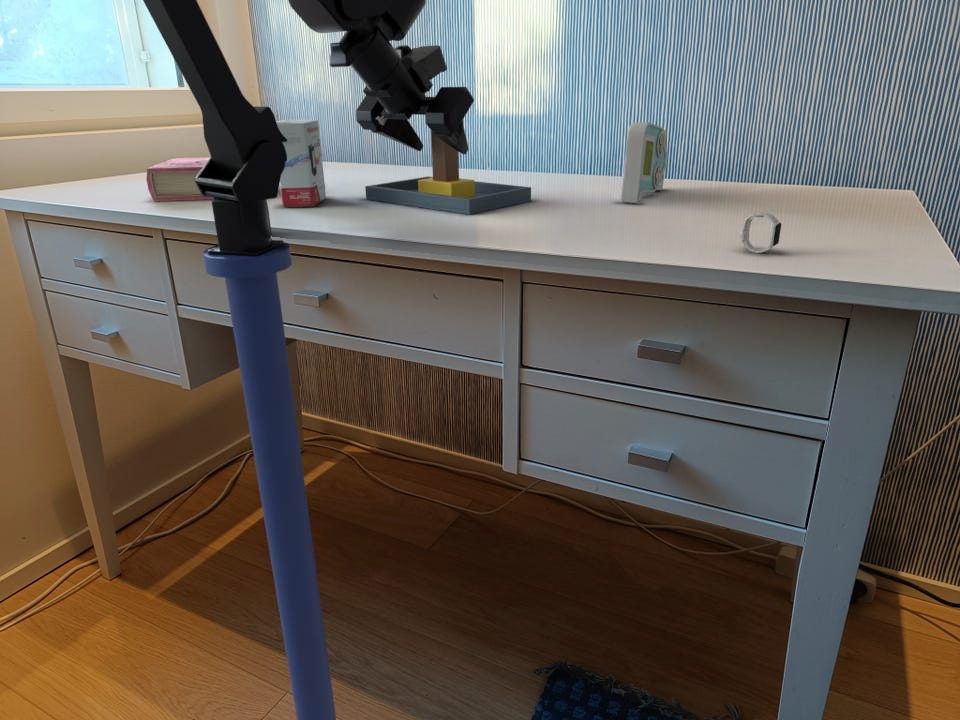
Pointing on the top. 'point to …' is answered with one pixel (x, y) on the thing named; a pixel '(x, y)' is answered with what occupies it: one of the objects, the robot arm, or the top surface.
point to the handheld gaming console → (644, 160)
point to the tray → (484, 199)
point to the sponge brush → (446, 173)
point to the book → (176, 179)
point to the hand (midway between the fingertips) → (443, 150)
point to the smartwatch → (773, 234)
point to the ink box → (302, 164)
